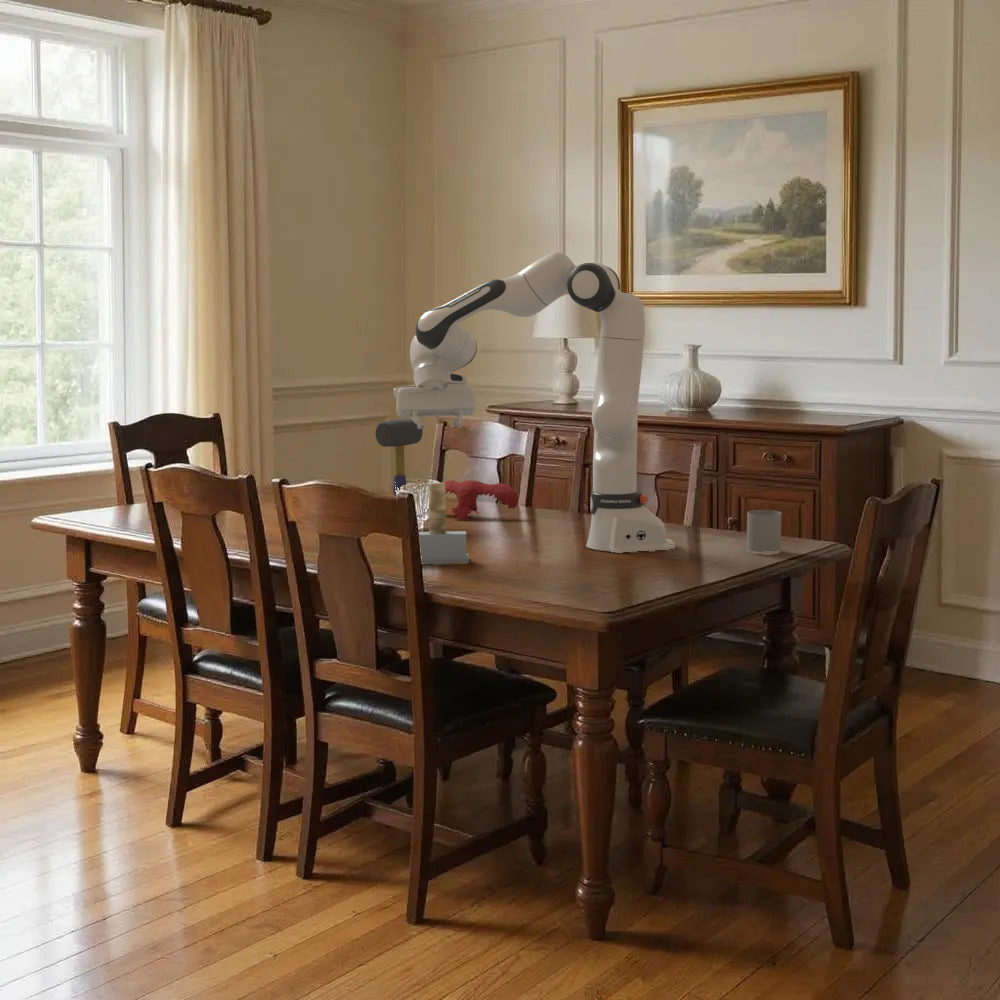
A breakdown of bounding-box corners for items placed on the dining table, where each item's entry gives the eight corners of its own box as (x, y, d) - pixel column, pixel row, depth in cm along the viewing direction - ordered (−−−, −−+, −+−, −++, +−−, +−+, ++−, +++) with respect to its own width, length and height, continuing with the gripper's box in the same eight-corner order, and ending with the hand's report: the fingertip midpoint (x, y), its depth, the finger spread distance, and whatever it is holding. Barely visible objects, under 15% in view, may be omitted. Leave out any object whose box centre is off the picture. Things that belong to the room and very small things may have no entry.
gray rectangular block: (468, 558, 340) (467, 530, 339) (468, 563, 333) (468, 535, 332) (406, 559, 340) (406, 531, 338) (406, 564, 333) (405, 536, 332)
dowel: (445, 531, 338) (445, 482, 336) (445, 534, 334) (445, 484, 332) (429, 531, 337) (428, 482, 336) (429, 534, 333) (428, 484, 332)
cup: (784, 550, 348) (785, 511, 347) (776, 556, 341) (777, 516, 339) (751, 548, 352) (751, 509, 350) (742, 553, 344) (743, 513, 343)
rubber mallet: (393, 531, 379) (391, 421, 375) (374, 528, 384) (372, 419, 380) (426, 525, 388) (424, 418, 384) (408, 522, 393) (406, 416, 389)
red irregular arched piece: (512, 536, 396) (525, 492, 404) (502, 517, 389) (516, 474, 396) (423, 529, 407) (438, 487, 415) (412, 511, 400) (427, 469, 408)
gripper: (393, 378, 352) (399, 420, 344) (472, 376, 357) (480, 417, 349) (390, 394, 357) (397, 436, 349) (469, 392, 362) (477, 433, 354)
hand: (439, 426), depth 349 cm, fingers open, 8 cm apart
